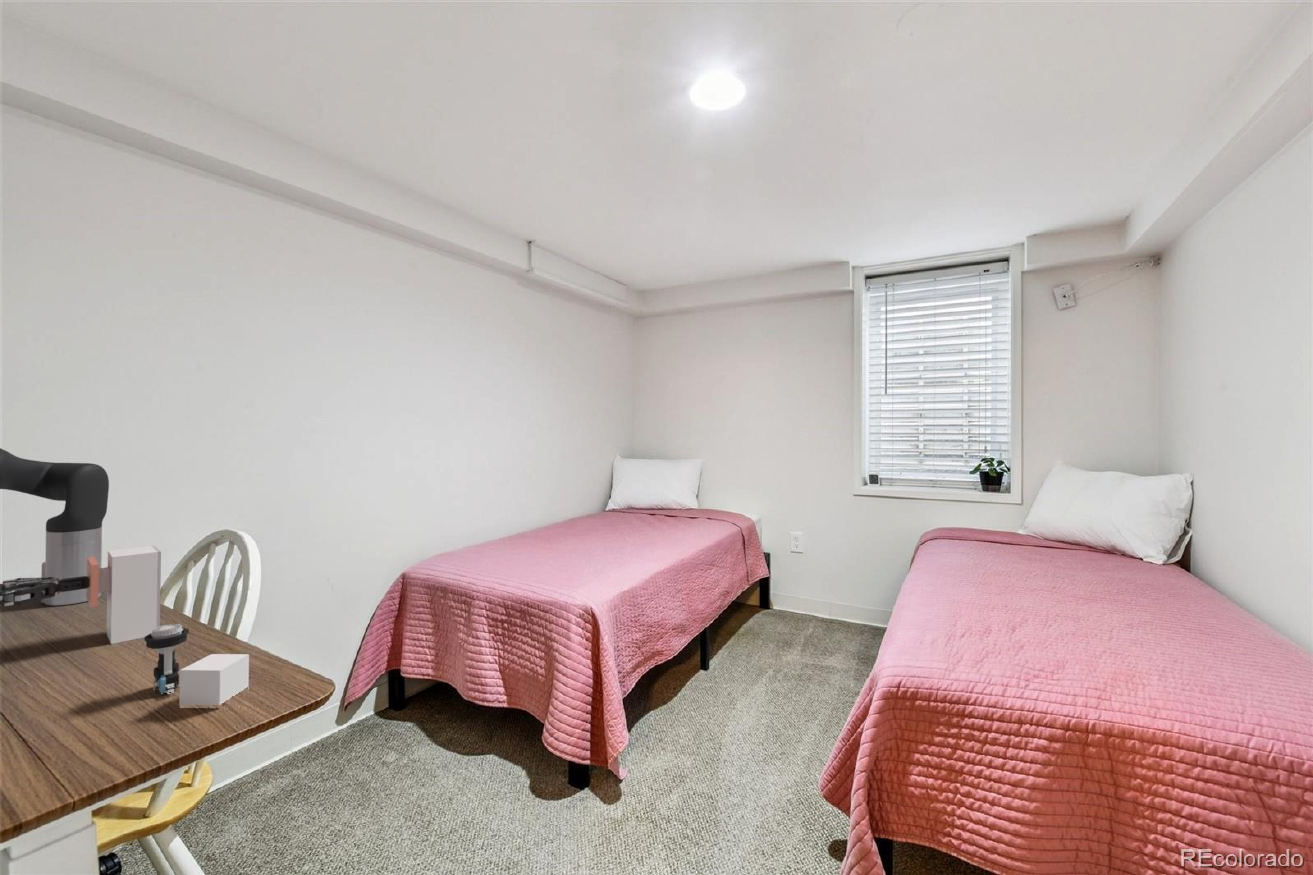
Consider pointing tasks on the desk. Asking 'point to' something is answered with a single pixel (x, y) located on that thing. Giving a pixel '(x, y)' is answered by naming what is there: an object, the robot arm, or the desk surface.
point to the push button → (166, 654)
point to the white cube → (214, 679)
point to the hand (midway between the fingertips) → (88, 581)
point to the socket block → (133, 593)
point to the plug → (97, 580)
